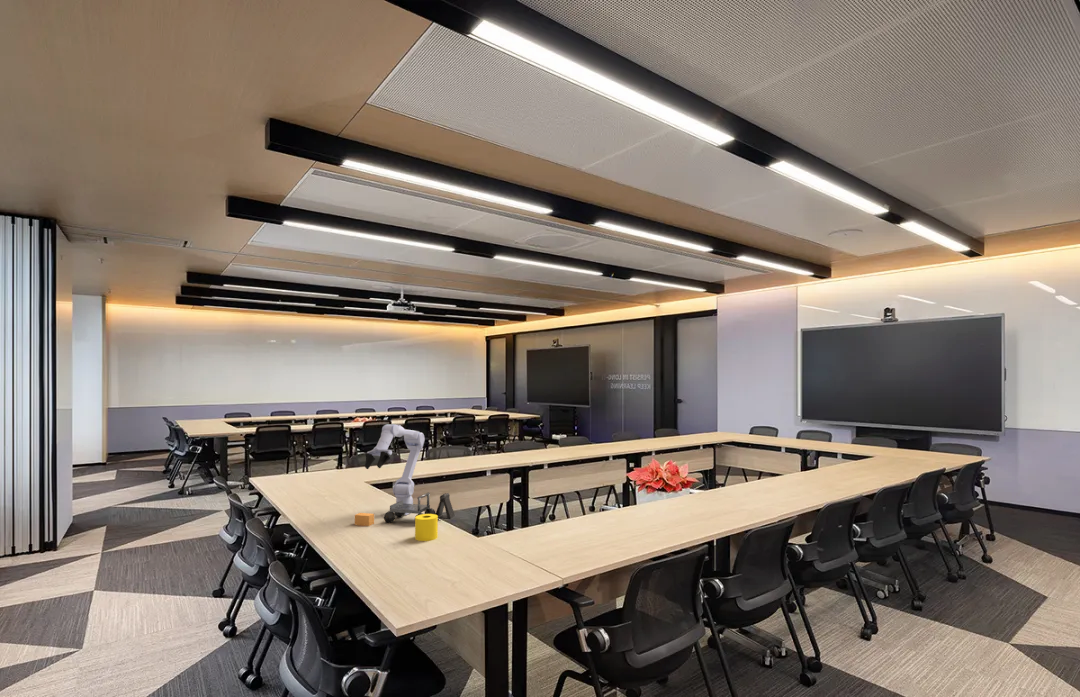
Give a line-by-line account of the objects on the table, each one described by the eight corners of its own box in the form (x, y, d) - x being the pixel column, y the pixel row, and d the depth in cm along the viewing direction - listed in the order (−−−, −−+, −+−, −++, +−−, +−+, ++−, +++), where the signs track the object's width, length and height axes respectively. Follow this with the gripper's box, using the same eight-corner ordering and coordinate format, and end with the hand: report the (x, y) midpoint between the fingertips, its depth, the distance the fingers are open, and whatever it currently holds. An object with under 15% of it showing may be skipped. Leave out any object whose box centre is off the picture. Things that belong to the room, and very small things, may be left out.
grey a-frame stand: (454, 516, 284) (455, 493, 284) (450, 519, 278) (450, 495, 278) (438, 515, 286) (438, 492, 286) (434, 518, 280) (434, 494, 280)
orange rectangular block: (360, 522, 272) (360, 512, 272) (374, 523, 270) (374, 513, 270) (354, 525, 268) (354, 515, 268) (368, 526, 265) (369, 516, 266)
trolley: (395, 516, 283) (396, 490, 284) (435, 519, 278) (435, 492, 278) (383, 522, 272) (384, 495, 272) (424, 525, 266) (425, 497, 267)
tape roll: (417, 542, 240) (417, 520, 240) (413, 536, 249) (413, 515, 249) (439, 539, 244) (440, 518, 244) (434, 533, 253) (434, 513, 253)
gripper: (367, 440, 274) (356, 463, 265) (390, 438, 268) (379, 461, 259) (375, 449, 278) (364, 471, 269) (398, 447, 272) (387, 470, 263)
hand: (372, 467), depth 264 cm, fingers open, 7 cm apart
